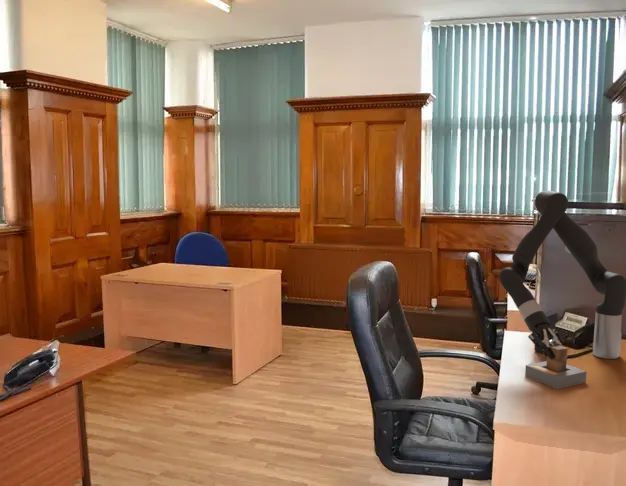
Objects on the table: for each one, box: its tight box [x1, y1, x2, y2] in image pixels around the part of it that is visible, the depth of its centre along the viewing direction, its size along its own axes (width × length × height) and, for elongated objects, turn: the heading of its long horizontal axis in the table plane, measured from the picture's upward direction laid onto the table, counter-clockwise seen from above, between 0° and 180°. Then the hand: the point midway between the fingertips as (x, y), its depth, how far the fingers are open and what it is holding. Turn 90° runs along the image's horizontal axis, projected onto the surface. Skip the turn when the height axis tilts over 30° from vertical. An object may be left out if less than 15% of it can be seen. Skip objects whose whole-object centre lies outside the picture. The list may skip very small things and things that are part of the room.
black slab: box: [533, 311, 558, 354], centre depth 245 cm, size 11×4×15 cm, turn 134°
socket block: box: [524, 360, 587, 390], centre depth 212 cm, size 14×14×4 cm
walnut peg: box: [546, 345, 568, 372], centre depth 211 cm, size 4×4×8 cm
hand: (558, 357), depth 210 cm, fingers closed on walnut peg, 4 cm apart
